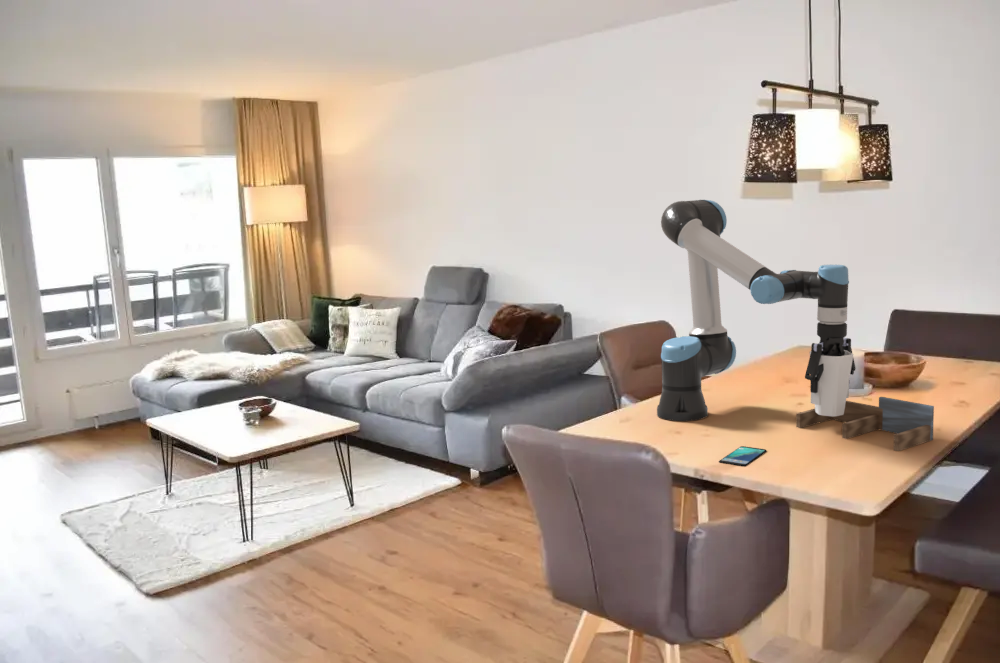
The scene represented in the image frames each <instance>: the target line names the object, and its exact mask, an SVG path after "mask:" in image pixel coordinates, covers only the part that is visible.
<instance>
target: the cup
mask: <svg viewBox="0 0 1000 663" xmlns="http://www.w3.org/2000/svg"><path fill="white" fill-rule="evenodd" d="M844 352H845V354H844V355H845V356H823V354H822V355H821V358H820V362H819V365H821V364H824V371H823V373H822V375H821V377H820V380H819V381H822V385H821V405H816V404H814V409H815V412H816V413H817V414H818V415H823V416H832V417H833V416H840V415H843V414H844V410H845V404H846V401H847V398H846V397H847V391H848V385H849V386H850V383H849V380H850V379H851V374H850V373H851V367H852V360H853V358H854V353H853V352H852V353H850V352H849V351H846V350H844ZM810 355H811V350H810V351H809V356H810Z"/></svg>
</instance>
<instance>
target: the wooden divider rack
mask: <svg viewBox="0 0 1000 663" xmlns="http://www.w3.org/2000/svg"><path fill="white" fill-rule="evenodd" d="M934 410H935V406H934V405H929V404H924V403H920V402H914V401H908V400H901V399H896V398H892V397H885V396H879V397H878V406H876V405H871V404H866V403H861V402H855V401H850V400H846V404H845V410H844V414H843V415H840V416H833V417H832V416H823V415H818V414H817V413H816V412H815V408H811V409H808V410H805V411H801V412H797V413H796V418H795V419H796V420H795V422H796V428H798V429H801V428H805V427H809V426H813V425H815V424H819V422H820V423H823V422H827V421H830V420H833V421H838V422H842V427H841V428H842V429H841V430H842V431H841V432H842V433H841V434H842V436H841V437H842V439H845V440H846V439H847V440H848V439H850V438H854V437H858V436H860V435H865V434H868V433H870V432H875V431H877V430H879V429H880V430H879V431H884V430H885V431H886V432H888V431H889V433H893V432H894V433H893V451H895V452H899V451H902V450H906V449H909V448H913V447H915V446H918V445H921V444H924V443H927V442H931V441H933V440H934V416H935V414H934V412H935V411H934ZM874 430H875V431H874ZM885 431H884V432H885ZM867 432H868V433H867Z"/></svg>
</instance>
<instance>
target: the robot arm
mask: <svg viewBox="0 0 1000 663" xmlns="http://www.w3.org/2000/svg"><path fill="white" fill-rule="evenodd" d="M660 220H661V221H660V225H661V228H662V232H663V234H664V235H665V236H666V238H668V240H670V241H671V242H672V243H673V244H675V245H676V246H678V247H680V248H682V249H685V250H686V252H687V261H688V273H689V285H690V287H689V288H690V299H691V311H692V312H691V315H692V323H693V324H692V326H693V327H692V328H691V329H690V331H689V332H688V336H687V335H686V336H680V337H679V336H677V337H673V338H670V339H667V340H665V341H664V342H663V344H662V346H661V353H660V359H661V360H660V362H661V379H662V380H661V383H662V385H661V387H662V388H661V394H660V397H659V403H658V405H657V407H656V415H657V417H659V418H660V419H664V420H667V421H668V420H669V421H677V422H678V421H679V422H690V421H699V420H703V419H704V418H707V417H708V415H709V414H708V413H709V410H708V406H707V404H706V401H705V397H704V394H703V392H702V391H703V390H702V378H703V377H707V376H711V375H717V374H720V373H722V372H725V371H727V370H729V368H730V367H731V366H733V364H734V362H735V359H736V357H737V347H736V344H735V342H734V341H733V340H732V338H731V337H730V336H728V329H727V328H725V327H724V326H723V324H722V313H721V312H722V311H721V298H720V285H719V273H718V272H719V271H718V269H719V270H720V271H721V272H723V273H724V274H726V275H727V276H729V277H730V278H731V279H733V280H735V281H737V283H739V284H740V285H742V286H743V287H745V288H747V289H748V290H749V291H750V294H751V297H752V298H753V300H754V301H755V302H756V303H759V304H763V305H771V304H772V305H773V304H776V303H780V302H785V301H791V300H795V299H796V300H797V299H811V300H817V314H816V315H817V317H816V321H818V322H817V323H816V335H817V336H818V337H819V343H815V342H812V343H811V345H810V346H811V348H810V351H811V355H810V354H809V359H808V362H807V366H806V370H805V375H804V379H806V380H808V381H810V388H809V389H810V390H809V391H810V404H811V405H815V404H816V405H821V385H822V381H819V380H820V377H821V375H822V373H823V371H824V364H821V365H819V362H820V358H821V355H822V354H823V356H845V355H844V354H845V352H844V350H846V351H849V352H850V353H852V354H853V350H852V339H851V338H850V337H849V338H848V337H847V334H848V332H847V331H848V324H847V321H848V300H849V299H848V297H849V296H848V294H849V284H850V279H849V268H848V266H846V265H845V264H822V265H820V266H818V270H817V271H809V270H808V271H807V270H796V269H788V270H786V269H785V270H782V271H780V273H776V272H775V271H773V270H771V269H769V268H768V267H767V266H765V265H764V264H762V263H760V262H759V261H757V260H756V259H755V258H752V257H751V256H750V255H748V254H746V253H745V252H743V251H742V250H740V248H739V249H738V248H737V246H735V245H733V244H732V243H730V242H728V241H726V240H725V239H723V238H722V237H721V235H722V234H723V233H724V230H725V229H726V228H727V215H726V212H725V210H724V208H723V206H721V205H720V204H719V203H718V202H716V201H714V200H708V199H695V200H680V201H674V202H673V203H671V204H670V205H668V206H667V207H666V208H665V209H664V210H663V213H662V215H661V219H660ZM854 359H855V358H854V357H853V360H852V367H851V373H850V376H851V375H852V376H853V375H854V373H855V371H856V369H857V367H856V364H855V363H856V362H855V360H854ZM849 393H850V379H849V385H848V391H847V397H846V399H849V397H850V396H849Z"/></svg>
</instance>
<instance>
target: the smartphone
mask: <svg viewBox="0 0 1000 663" xmlns="http://www.w3.org/2000/svg"><path fill="white" fill-rule="evenodd" d="M765 453H767V449H765V448H759V447H751V446H746V445H745V446H743V445H741V446H739V447H738V448H736V449H735V450H733V451H732V452H730V453H728V454H727V455H726V456H724V457H723V458H721V459H719V461H718V463H719V464H725V465H730V466H736V467H742V468H743V467H747V466H748V465H750V464H751V463H753V462H754V461H755V460H757V459H760V457H761V456H763V455H764V454H765Z"/></svg>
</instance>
